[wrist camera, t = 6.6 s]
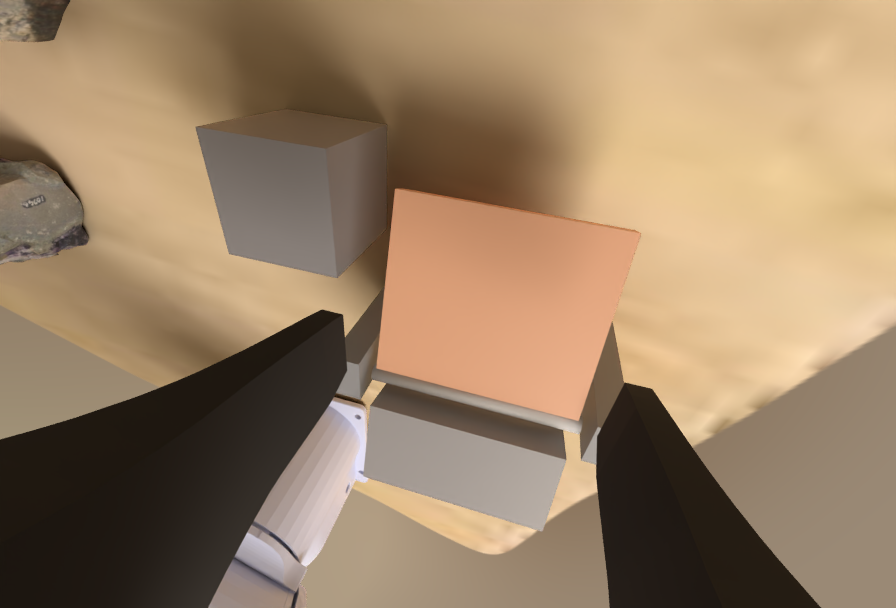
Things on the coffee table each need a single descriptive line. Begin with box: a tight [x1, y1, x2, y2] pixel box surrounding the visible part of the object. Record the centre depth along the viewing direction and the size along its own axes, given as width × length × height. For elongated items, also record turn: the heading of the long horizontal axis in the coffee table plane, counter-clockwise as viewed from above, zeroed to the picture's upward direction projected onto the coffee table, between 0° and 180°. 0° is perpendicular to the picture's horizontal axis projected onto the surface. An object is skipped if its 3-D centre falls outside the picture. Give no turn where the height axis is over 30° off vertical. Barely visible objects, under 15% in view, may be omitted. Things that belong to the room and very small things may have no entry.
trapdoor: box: [363, 188, 641, 531], centre depth 15 cm, size 12×8×2 cm
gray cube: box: [196, 109, 387, 278], centre depth 16 cm, size 5×5×5 cm
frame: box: [336, 287, 624, 464], centre depth 17 cm, size 2×11×7 cm, turn 84°
